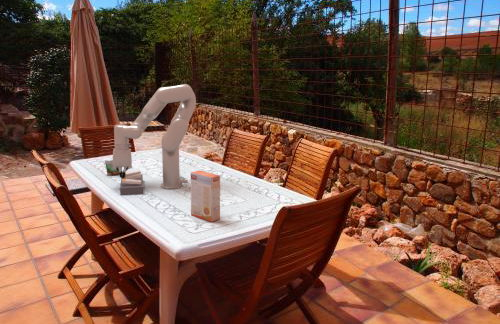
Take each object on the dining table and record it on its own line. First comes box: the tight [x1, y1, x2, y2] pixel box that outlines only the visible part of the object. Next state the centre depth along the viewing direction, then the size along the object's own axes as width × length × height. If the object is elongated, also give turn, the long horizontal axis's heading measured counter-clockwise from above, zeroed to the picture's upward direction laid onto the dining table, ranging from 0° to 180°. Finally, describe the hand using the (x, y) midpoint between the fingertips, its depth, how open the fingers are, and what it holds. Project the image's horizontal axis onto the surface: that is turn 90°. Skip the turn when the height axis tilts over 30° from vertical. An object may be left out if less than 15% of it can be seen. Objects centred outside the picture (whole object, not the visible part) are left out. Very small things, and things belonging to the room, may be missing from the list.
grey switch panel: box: [119, 173, 145, 196], centre depth 229 cm, size 12×32×4 cm, turn 16°
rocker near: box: [122, 179, 141, 184], centre depth 218 cm, size 10×4×2 cm, turn 105°
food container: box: [104, 159, 123, 177], centre depth 254 cm, size 12×6×10 cm, turn 143°
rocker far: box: [125, 169, 142, 177], centre depth 235 cm, size 10×4×2 cm, turn 106°
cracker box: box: [190, 170, 221, 223], centre depth 181 cm, size 14×6×21 cm, turn 48°
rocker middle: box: [124, 173, 142, 179], centre depth 227 cm, size 10×4×2 cm, turn 106°
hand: (122, 178), depth 225 cm, fingers closed
